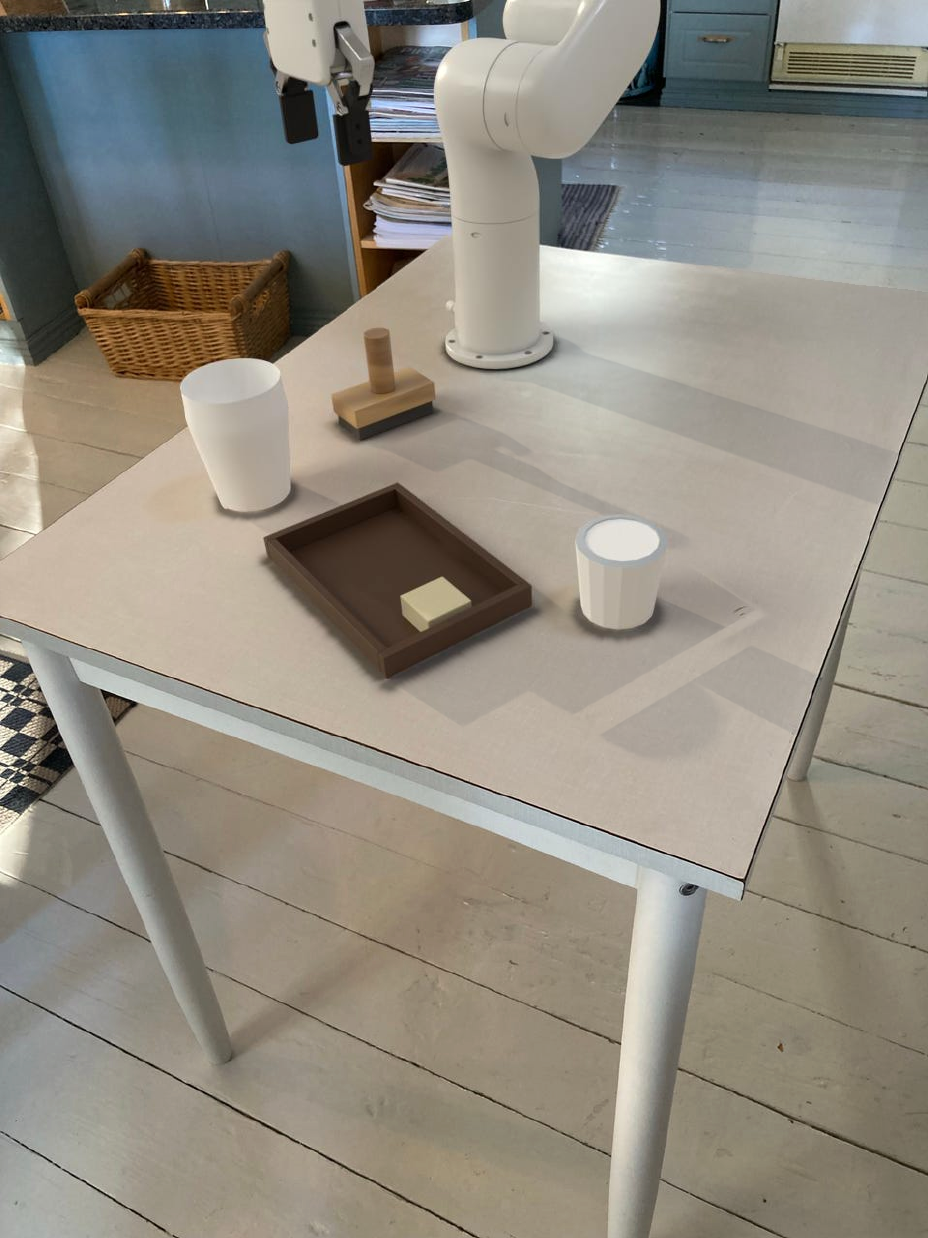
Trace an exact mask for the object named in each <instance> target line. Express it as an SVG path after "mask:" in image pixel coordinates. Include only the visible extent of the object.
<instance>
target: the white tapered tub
mask: <svg viewBox="0 0 928 1238" xmlns="http://www.w3.org/2000/svg"><path fill="white" fill-rule="evenodd" d="M574 543H575V554H576V566H577V567H576V568H577V577H578V578H577V579H578V591H579V600H580V607H581V611H582V614H583V615H584V616H585V617H586V618H587V620H589V621H590V622H591V623H593V624H595V625H598V626H600V627H601V628H606V629H611V630H626V629H633V628H636V627H638V626H641V625H644V624H645V623H646V622H647V621H648V620H649V619H650V618H652V616H653V614H654V610H655V606H656V602H657V597H658V592H659V587H660V582H661V577H662V572H663V568H664V563H665V558H666V554H667V549H668V544H669V540H668V537H667V535H666V532H665V530H664V529H662V528H661V526H659V525H658V524H656V523H655V522H654V521H652V520H649V519H646V518H644V517H641V516H638V515H631V514H623V513H618V514H607V515H601V516H598V517H597V518H594V519H591V520H588V521H587V522H586V523H585V524H583V525H582V526H581V527H580V528H578V530H577V533H576V536H575V539H574Z"/></svg>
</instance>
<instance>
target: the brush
mask: <svg viewBox="0 0 928 1238" xmlns="http://www.w3.org/2000/svg"><path fill="white" fill-rule="evenodd" d="M363 341H364V350H365V355H366V356H365V357H366V365H367V374H368V381H366V382H365V381H364V382H362V383H359V384H357V385H354V386H350V387H348V388H345V389H342V390H340V391H337V392H334V393H332V394H330V395H331V403H332V409H333V413H335V414H336V415H337V418H338V425H339V426H341V427H342V428H343V429H345V430H346V431H347V432H348V433H350V434H351V435H353V436H354V437H356V438H357V439H358V440H359V441H363V440H365V439H367V438H371V437H373V436H376V435H378V434H381V433H383V432H386V431H388V430H391V429H395V428H397V427H400V426H401V425H402V426H403V425H404V424H406V423H409V422H413V421H414V420H415V421H416V420H417V419H420V418H423V417H425V416H428V415H430V414H433V413H434V406H433V401H435V400H437V399H436V388H435V387H436V386H435V381H434V380H431V379H430V378H428V377H427V376H425V375H424V374H422V373H420V372H418V371H417V370H416V369H414V368H412V367H411V366H408V367H405V368H401V369H399V370H395V369H394V359H393V351H392V341H391V333H390V330H389V329H387V328H385V327H373V328H369V329H367V330H365V331H364V332H363Z"/></svg>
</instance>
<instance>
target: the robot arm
mask: <svg viewBox="0 0 928 1238" xmlns="http://www.w3.org/2000/svg"><path fill="white" fill-rule="evenodd" d="M364 4H365V3H364V0H262V6H263V15H264V23H265V30H264V31H263V34H262V39H263V42H264V46H265V48H266V51H267V54H268V57H269V68H270V69H271V71H272V73H273V75H274V78H275V80H274V88H275V91H276V94H277V95H278V100H279V107H280V113H281V121H282V127H283V132H284V140H285V142H286V144H290V145H296V144H300V143H304V142H308V141H313V140H317V139H318V138H319V135H320V133H319V125H318V117H317V110H316V104H315V97H314V95H315V94H314V90H313V89H308V88H309V85H310V84H313V85H316V86H319V87H325V88H326V90H327V93H328V94H329V97H330V99H331V102H332V104H333V106H334V108H335V111H336V113H334V114H332V115H331V116H332V123H333V131H334V138H335V139H334V140H335V146H336V154H337V155H336V156H337V162H338V164H339V165H340V166H342V167H348V166H352V165H356V164H361V163H364V162H368V161H371V160H373V158H374V147H373V138H372V130H371V128H372V127H371V119H370V110H371V109H372V101H371V97H372V94H373V92H374V84H373V79H374V72H375V66H376V65H375V63H376V62H375V58H374V56H373V55H372V53H371V46H370V38H369V30H368V24H367V17H366V11H365V5H364ZM660 17H661V0H506V2H505V5H504V9H503V13H502V27H503V32H504V35H505V38H499V37H475V38H469V39H467V40H463V41H461V42H459V43H457V44H456V45H454V46H453V47H452V48H450V49H449V50H448V52H447V53H445V55H444V56H443V58H442V59H441V61H440V63H439V65H438V67H437V70H436V73H435V78H434V84H433V102H434V104H433V105H434V111H435V114H436V121H437V124H438V128H439V133H440V136H441V137H440V138H441V140H442V144H443V145H442V146H443V149H444V155H445V161H446V165H447V166H446V167H447V175H448V185H449V186H448V188H449V199H450V200H449V202H450V215H451V217H450V218H451V219H450V220H451V234H452V251H453V269H454V284H455V287H454V288H455V298H454V300H453V299H449V300H448V301H447V302H446V304H445V309H446V311H448V313H449V312H450V313H451V314H453V315H454V326H455V327H453V328H452V329H451V330H450V331H449V332H448V333H447V334H446V336H445V341H444V343H445V351H446V353H447V355H448V356H449V357H450V358H451V359H452V360H454V361H456V362H458V363H460V364H462V365H465V366H468V367H472V368H477V369H478V368H479V369H484V370H485V369H486V370H505V369H513V368H518V367H519V368H520V367H522V366H523V367H524V366H527V365H530V364H532V363H535V362H537V361H539V360H541V359H543V358H544V357H546V356H547V355H548V354H549V353H550V352H551V351H552V350H553V346H554V334H553V331H552V330H551V329H550V327H548V326H547V325H546V324H544V323H543V322H541V283H540V281H541V280H540V279H541V278H540V277H541V275H540V273H541V270H540V269H541V267H540V265H541V263H540V262H541V260H540V259H541V258H540V255H541V254H540V252H541V251H540V247H541V245H540V244H541V243H540V241H541V240H540V239H541V238H540V237H541V235H540V234H541V233H540V231H541V230H540V229H541V227H540V204H541V203H540V197H541V196H540V185H539V184H540V183H539V179H538V175H537V170H536V167H535V164H534V161H533V158H532V156H533V157H537V158H543V159H552V160H561V159H566V158H569V157H571V156H573V155H574V154H577V153H578V152H579V151H580V150H582V149H583V148H584V147H585V146H586V145H587V144H588V143H589V141H590V140H591V139H592V138H593V137H594V135H595V134H596V133H597V131H598V129H599V128H600V127H601V126H602V124H603V122H604V121H605V120H606V119H607V117H608V116H609V114H610V112H611V111H612V110H613V108H614V107H615V106H616V104H617V103H618V102H619V100H620V98H621V97H622V95H623V94H624V93H625V91H626V89H627V88H628V87H629V85H630V84H631V83H632V82H633V80H634V79H635V77H636V75H637V74H638V72H639V71H640V69H641V68H642V66H643V64H644V63H645V62H646V60H647V58H648V56H649V54H650V52H651V50H652V47H653V44H654V42H655V40H656V37H657V33H658V28H659V23H660ZM343 86H347V87H346V89H345V91H344V93H343V90H342V89H341V87H343Z"/></svg>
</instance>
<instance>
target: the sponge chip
mask: <svg viewBox="0 0 928 1238" xmlns="http://www.w3.org/2000/svg"><path fill="white" fill-rule="evenodd" d="M400 597H401V606H402V614H403V616H404V617H405V618H406V619H407V620H408V621H409V622H410V623H412V624H413V625H414V626H415V627H416V628H417V629H418V630H419V631H420V632H422V631H424V630H426V629H428V628H430V627H432V626H434V625H436V624H438V623H440V622H442V621H445V620H447V619H449V618H451V617H453V616H455V615H457V614H459V613H461V612H463V611H465V610H467V609H469V608H471V600H470V599H468V598H467V597H466V596H465V595H464V594H463V593H461V592H460V591H459V590H458V589H457V588H455V587H454V586H453V585H452V584H451V583H450V582H448V581H447V580H446V579H445V578H444V577H440V578H438V579H436V580H434V581H431V582H429V583H427V584H425V585H423V586H421V587H418V588H416V589H414V590H412V591H410V592H408V593H406V594H403V595H401V596H400Z"/></svg>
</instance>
